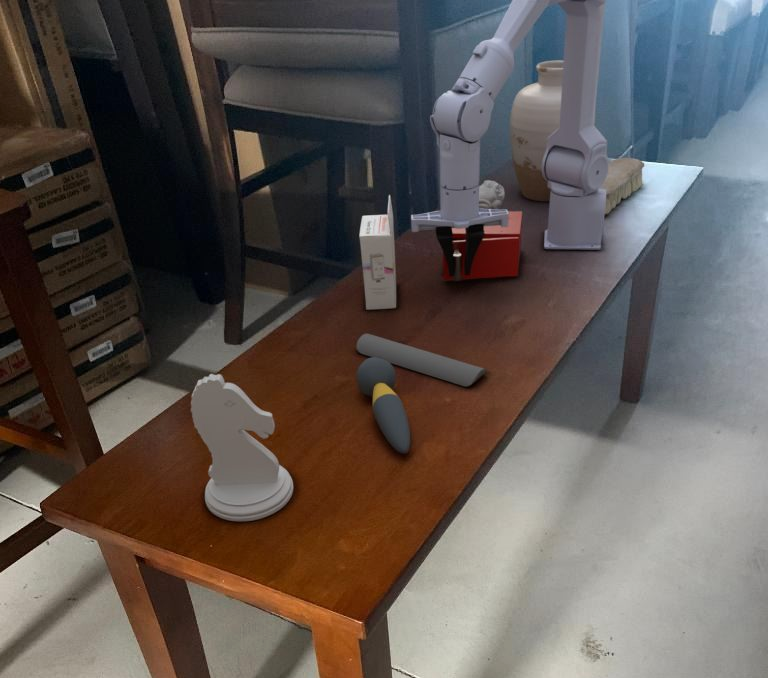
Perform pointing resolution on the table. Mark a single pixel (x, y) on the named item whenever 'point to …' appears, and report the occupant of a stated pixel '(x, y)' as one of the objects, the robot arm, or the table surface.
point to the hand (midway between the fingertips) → (459, 273)
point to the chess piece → (238, 453)
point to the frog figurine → (490, 195)
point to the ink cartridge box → (378, 260)
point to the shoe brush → (621, 180)
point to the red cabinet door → (485, 259)
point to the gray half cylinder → (419, 360)
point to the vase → (535, 128)
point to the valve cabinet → (498, 231)
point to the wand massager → (385, 401)
